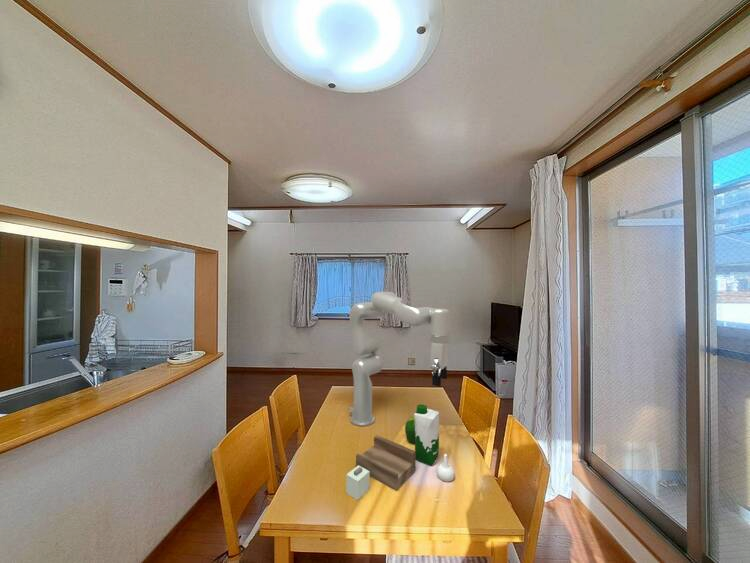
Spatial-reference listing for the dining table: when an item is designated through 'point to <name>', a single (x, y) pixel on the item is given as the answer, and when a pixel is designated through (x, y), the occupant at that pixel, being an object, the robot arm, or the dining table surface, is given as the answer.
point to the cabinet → (357, 482)
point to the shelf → (388, 462)
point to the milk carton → (426, 435)
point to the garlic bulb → (445, 470)
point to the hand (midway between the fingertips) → (439, 381)
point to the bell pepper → (410, 430)
